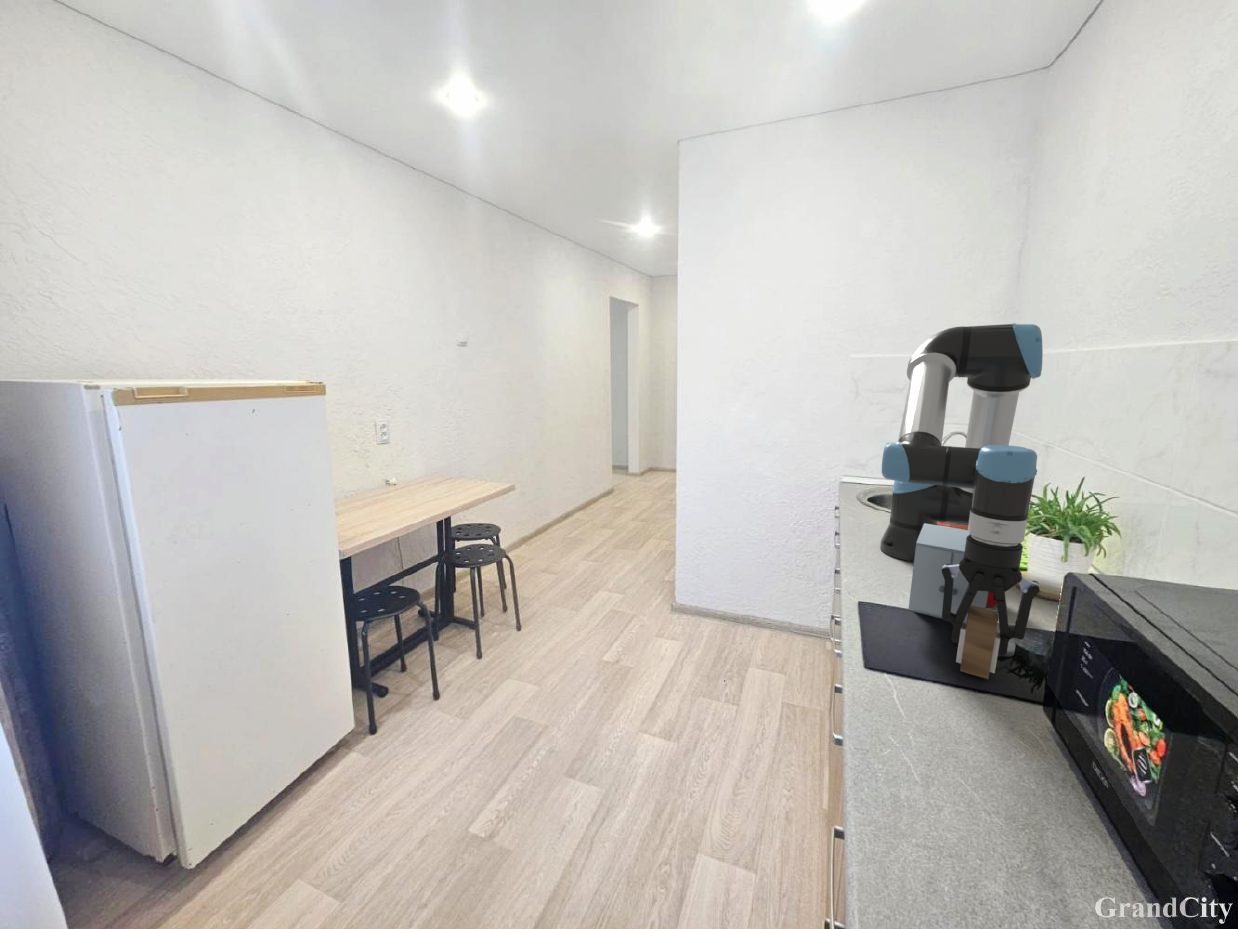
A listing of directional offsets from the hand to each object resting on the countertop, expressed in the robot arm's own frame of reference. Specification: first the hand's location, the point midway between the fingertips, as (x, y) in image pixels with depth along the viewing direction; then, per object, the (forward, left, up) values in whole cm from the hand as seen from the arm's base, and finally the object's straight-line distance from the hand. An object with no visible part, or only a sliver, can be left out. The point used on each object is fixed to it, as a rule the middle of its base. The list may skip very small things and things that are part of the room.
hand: (975, 663), depth 86 cm
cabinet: (-14, -5, -2) cm, 15 cm away
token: (-12, +4, -2) cm, 13 cm away
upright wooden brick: (-6, 0, -1) cm, 7 cm away
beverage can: (-33, +1, -2) cm, 33 cm away
